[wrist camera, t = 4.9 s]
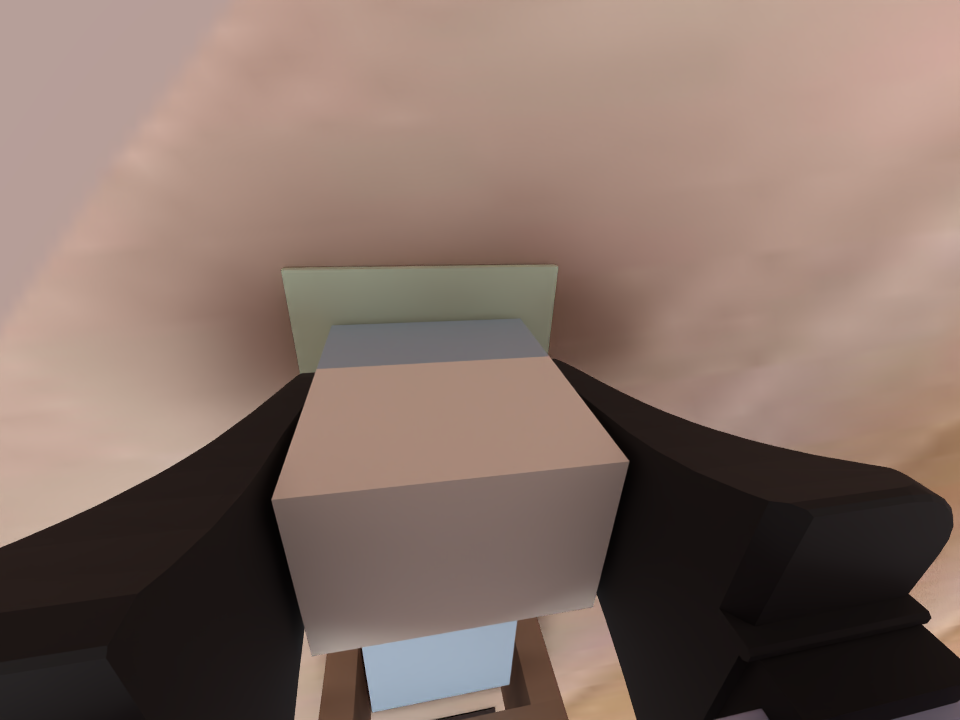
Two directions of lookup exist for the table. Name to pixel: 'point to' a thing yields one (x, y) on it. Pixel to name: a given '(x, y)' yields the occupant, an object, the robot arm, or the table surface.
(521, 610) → the block
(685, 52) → the table surface
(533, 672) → the tunnel
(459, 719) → the pad
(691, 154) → the table surface
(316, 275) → the mat
